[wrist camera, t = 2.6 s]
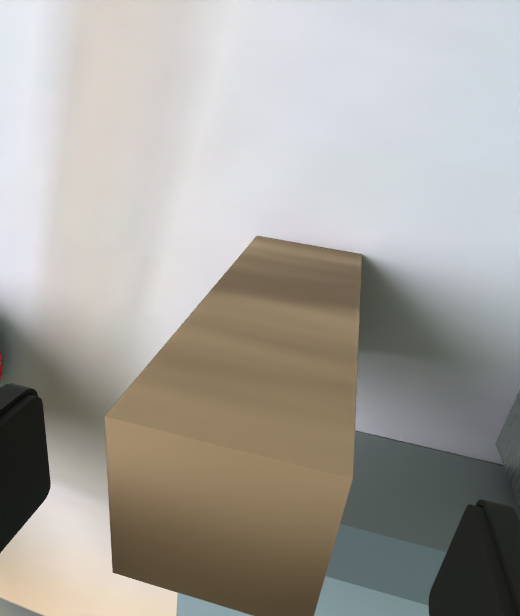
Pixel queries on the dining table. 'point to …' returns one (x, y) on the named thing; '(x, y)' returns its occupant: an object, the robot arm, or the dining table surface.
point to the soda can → (0, 366)
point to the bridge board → (393, 528)
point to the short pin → (511, 447)
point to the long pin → (243, 436)
